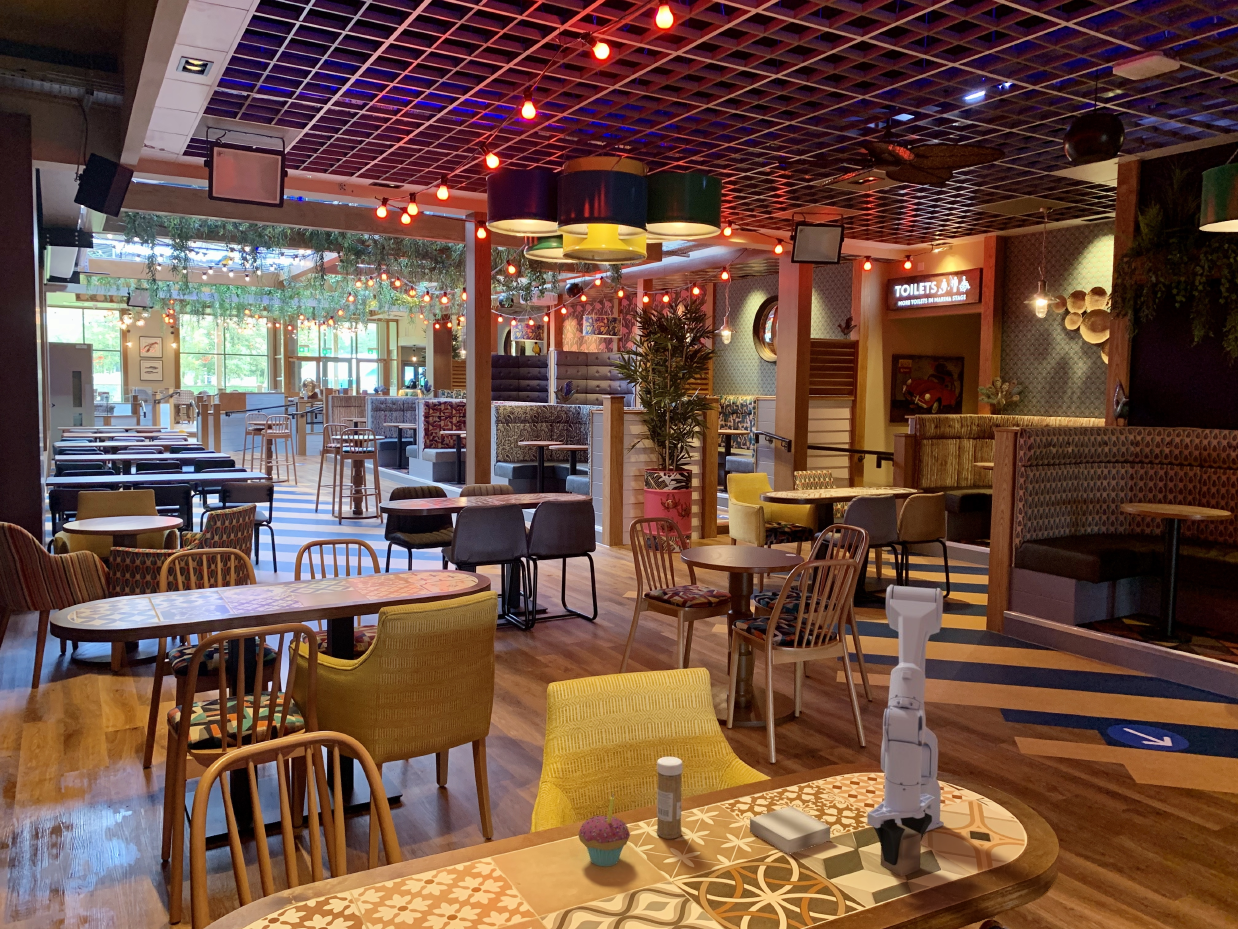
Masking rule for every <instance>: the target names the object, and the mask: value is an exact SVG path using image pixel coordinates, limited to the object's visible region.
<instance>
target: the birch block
mask: <svg viewBox="0 0 1238 929" xmlns="http://www.w3.org/2000/svg"><path fill="white" fill-rule="evenodd" d="M750 832H752V833H753V834H752V833H751V834H752V835H754V834H755V835H754V836H756V837H757V836H759V837H760V838H759V837H758V838H759V839H761V838H762V839H764V840H765V841H764V840H763V841H764V842H766V841H768V842H769V843H771V844H772V845H771V844H770V845H771V846H773V845H774V846H776V847H777V848H776V847H775V848H776V849H778V848H779V849H780V850H779V849H778V850H779V851H781V850H782V851H781V852H783V851H784V852H785V853H784V852H783V853H784V854H786V853H787V854H786V855H788V854H789V855H791V854H790V853H792V854H794V853H793V852H795V853H798V852H801V851H803V850H802V849H804V850H806V848H807V849H809V847H810V848H812V847H811V846H813V847H815V846H814V845H816V846H819V845H821V843H822V844H825V843H827V842H826V841H828V842H831V826H830V825H828V824H826V823H824V821H821V820H819V819H817V818H815V817H813V816H811V815H809V814H808V813H805V812H804V811H802V810H799V809H798V808H796V807H793V806H792V805H789V806H786V807H783V808H780V809H776V810H773V811H770V812H767V813H763V814H760V815H757V816H754V817H750V818H749V833H750ZM762 839H761V840H762ZM824 842H825V843H824ZM769 843H768V844H769ZM818 844H819V845H818ZM774 846H773V847H774ZM800 850H801V851H800ZM797 851H798V852H797Z"/></svg>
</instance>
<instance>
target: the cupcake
mask: <svg viewBox="0 0 1238 929" xmlns="http://www.w3.org/2000/svg"><path fill="white" fill-rule="evenodd" d="M614 794H615V793H612V796H611V797H609V804H608V805H609V806H608V811H607V815H602V814H601V815H594V816H592V817H590V818H588V819H586V821H585V822H584V823H583V822H582V824H581V826H580V828H579V831H578V839H579V841H580V842H581V843H582V844H583V846H584V847H586V850H587V853H588V856H589V858H590V859H589V860H590V861H591V863H592V864H594V865H595V866H597V867H598V866H599V867H611V866H614V865H616V864H617V863H618V862H619V861H620V856H621V853H622V851H623V849H624V847H625V846H626V845H627V843H628V840H629V839H630V836H631V834H630V831H629V828H628V827H629V826H628V825H627V824H626V822H624V821H623V820H622V819H620V818H618V817H616V816H613V809H614V802H615V798H614Z"/></svg>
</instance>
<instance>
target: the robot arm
mask: <svg viewBox="0 0 1238 929" xmlns="http://www.w3.org/2000/svg"><path fill="white" fill-rule="evenodd" d="M943 606H944V591H943V590H941V588H939V587H937V588H930V587H929V588H928V587H927V588H926V587H914V586H903V585H902V586H900V585H894V584H890V585H889V586H887V588H886V592H885V615H886V619H887V624H888V625H889V628H890V629H892V630H894V631H896V632H898V664H897V665H895V667H894V668H892V669H891V670H890V671H891V672H890V679H889V689H888V701H887V708H885V709H884V713H883V719H882V735H883V736H882V742H881V751H880V769H881V771H883V773H884V793H883V794H884V795H883V796H884V799H883V800H882V802H880V804H878V805H877V806H876V807H875V808H873V810H870V811H868V812H867V818H866V819H867V822H866V823H867V825H869V826H871V827H873V830H874V831H875V833H876V835H877V837H878V838H877V839H878V841H879V843H880V849H881V848H882V852H883V857H884V861H886V862H888V863H889V864H891V865H896V864H897V860H898V853H899V845H900V841H901V838H902V835H903V833H904V831H905V829H904V828H902V827H900V826H898V825H897V824H901V825H903V826H905V827H907V828H910V829H912V830H914V831H916V832H918V833H920V834H921V842H922V841H923V838H924V835H925V833H926V832H928V831H931V830H934V829H937V828H940V827H943V826H944V824H945V823H944V821H942V820H941V796H942V792H941V786H940V783H939V781H938V780H937V777H938V767H939V766H938V764H939V762H938V760H939V748H938V743H939V742H938V740H939V739H938V738H937V735H936V734H935V733H934V732H933V731H932V730H931V729H930V728H928V727H927V726H926V722H927V721H926V717H927V716H926V711H925V691H926V678H927V677H926V652H927V643H928V641H929V639H930V637H931V635H935V634H937V633H940V629H941V628H942V620H943Z"/></svg>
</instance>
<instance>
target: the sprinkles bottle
mask: <svg viewBox="0 0 1238 929" xmlns="http://www.w3.org/2000/svg"><path fill="white" fill-rule="evenodd" d="M683 767H684V765H683V761H682V759H680V758H679V757H676V756H675V757H674V756H663V757H660V758H659V759H657V762H656V771H657V790H656V791H657V793H656V816H657V824H656V825H657V828H656V834H657V835H658V836H659V837H660V838H663V839H668V840H671V839H676V838H679V837H681V835H682V833H683V832H682V774H683V770H684V769H683Z"/></svg>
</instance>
